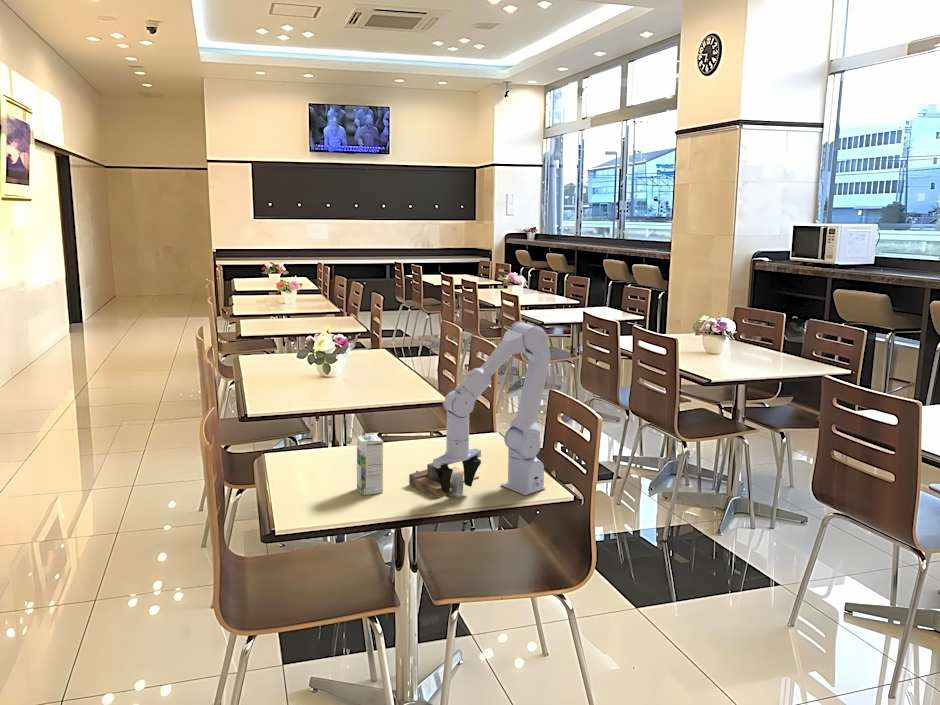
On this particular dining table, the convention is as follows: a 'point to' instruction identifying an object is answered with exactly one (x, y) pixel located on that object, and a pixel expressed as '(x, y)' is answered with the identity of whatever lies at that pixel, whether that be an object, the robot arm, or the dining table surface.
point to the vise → (427, 481)
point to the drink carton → (369, 464)
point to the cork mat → (461, 472)
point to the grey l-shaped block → (456, 486)
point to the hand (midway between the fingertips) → (457, 488)
